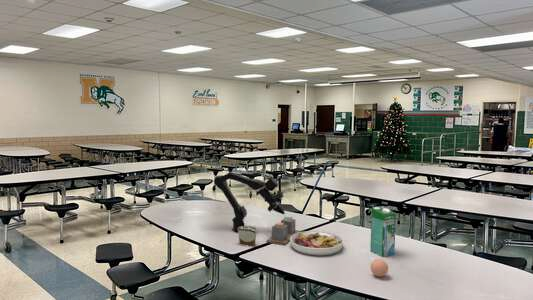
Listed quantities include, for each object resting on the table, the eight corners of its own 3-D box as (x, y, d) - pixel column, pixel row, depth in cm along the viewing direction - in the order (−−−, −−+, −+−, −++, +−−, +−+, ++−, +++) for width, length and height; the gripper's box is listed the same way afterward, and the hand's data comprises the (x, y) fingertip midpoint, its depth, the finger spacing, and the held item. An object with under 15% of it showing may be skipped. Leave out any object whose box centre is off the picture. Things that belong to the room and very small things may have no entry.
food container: (260, 243, 215) (260, 227, 214) (256, 247, 209) (256, 230, 208) (242, 240, 220) (242, 224, 219) (237, 244, 214) (237, 227, 213)
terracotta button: (281, 230, 217) (281, 224, 216) (275, 229, 218) (275, 223, 218) (283, 228, 220) (283, 223, 220) (278, 227, 222) (278, 222, 222)
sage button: (289, 222, 229) (290, 217, 229) (284, 221, 231) (284, 216, 230) (292, 220, 232) (292, 215, 232) (286, 219, 234) (286, 215, 234)
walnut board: (284, 245, 212) (284, 243, 212) (266, 242, 217) (266, 240, 217) (300, 232, 235) (300, 230, 235) (283, 230, 240) (283, 228, 240)
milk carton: (382, 257, 195) (383, 211, 193) (370, 251, 203) (371, 207, 201) (394, 254, 199) (396, 209, 197) (382, 248, 207) (383, 205, 205)
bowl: (312, 235, 231) (312, 223, 230) (353, 248, 209) (353, 234, 209) (279, 247, 210) (279, 234, 209) (321, 262, 189) (321, 247, 188)
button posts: (282, 241, 215) (282, 228, 214) (271, 239, 218) (271, 226, 217) (295, 231, 234) (295, 219, 233) (285, 230, 237) (285, 217, 236)
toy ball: (384, 272, 176) (385, 256, 175) (390, 279, 168) (391, 263, 167) (368, 272, 176) (368, 256, 175) (373, 279, 168) (373, 263, 167)
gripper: (272, 190, 222) (290, 209, 221) (278, 184, 240) (295, 202, 239) (260, 202, 225) (277, 221, 223) (267, 196, 243) (283, 213, 241)
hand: (284, 213), depth 232 cm, fingers closed
